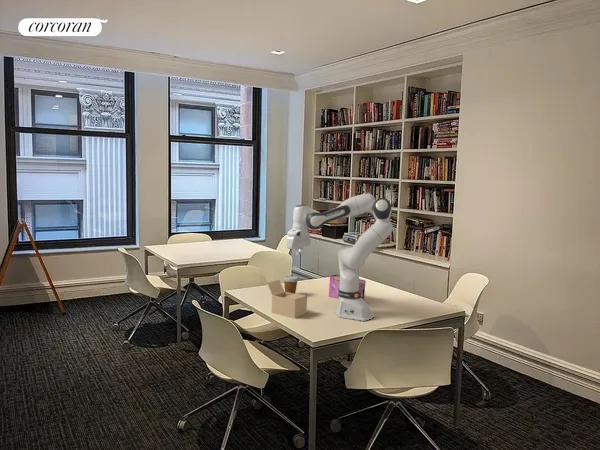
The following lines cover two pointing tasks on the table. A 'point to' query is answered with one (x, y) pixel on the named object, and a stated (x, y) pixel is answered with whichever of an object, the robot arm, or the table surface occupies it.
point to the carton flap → (275, 287)
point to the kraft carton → (289, 304)
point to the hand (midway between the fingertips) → (298, 254)
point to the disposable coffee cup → (290, 284)
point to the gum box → (335, 286)
